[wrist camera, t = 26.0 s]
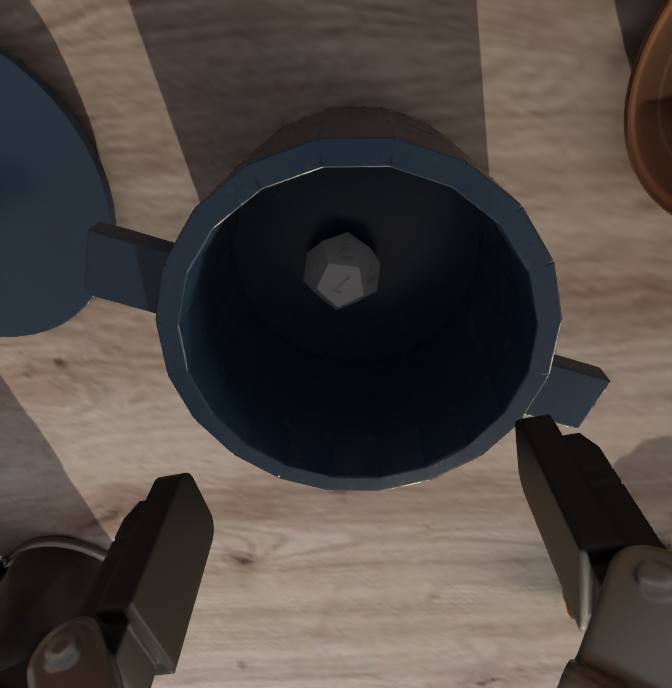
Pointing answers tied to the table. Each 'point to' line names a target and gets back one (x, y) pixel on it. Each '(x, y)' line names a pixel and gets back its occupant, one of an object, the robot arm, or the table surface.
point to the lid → (44, 204)
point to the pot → (354, 307)
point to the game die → (342, 270)
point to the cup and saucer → (652, 111)
